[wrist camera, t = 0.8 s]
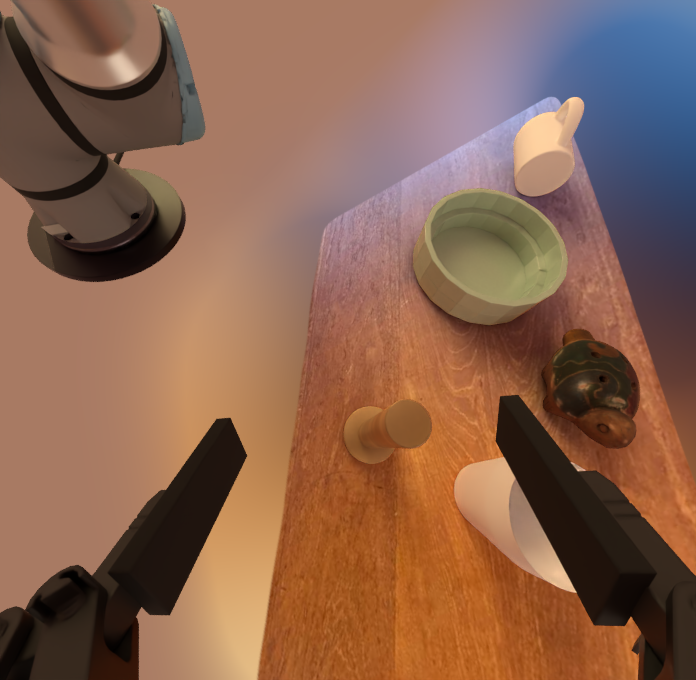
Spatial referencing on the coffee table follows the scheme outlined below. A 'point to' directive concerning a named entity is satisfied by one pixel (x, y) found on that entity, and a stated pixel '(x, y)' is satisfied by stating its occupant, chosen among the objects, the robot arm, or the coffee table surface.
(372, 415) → the wooden peg stand
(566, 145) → the mug
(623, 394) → the decorative turtle
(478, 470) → the cup
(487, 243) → the bowl
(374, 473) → the coffee table surface
